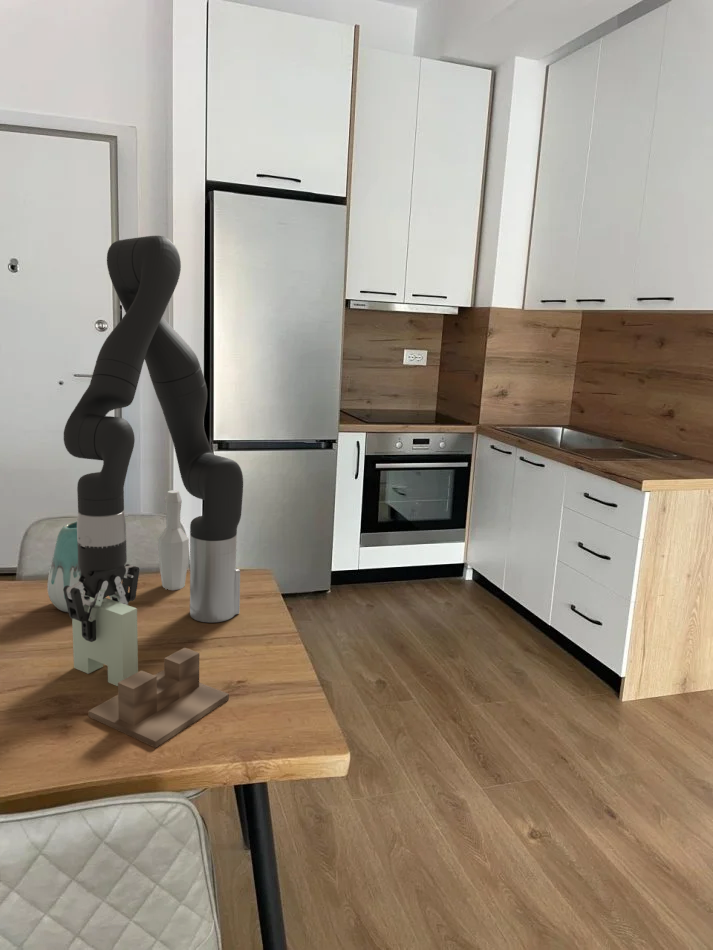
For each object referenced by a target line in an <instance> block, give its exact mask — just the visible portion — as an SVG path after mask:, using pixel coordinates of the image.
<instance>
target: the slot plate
mask: <svg viewBox="0 0 713 950" xmlns="http://www.w3.org/2000/svg"><path fill="white" fill-rule="evenodd" d="M163 664H164V666H163V667H164V669H163V670H161V671H159V672H157V673H155V674H152V673H149V672H147V671H144V670H140V671H139V670H138V672H137V673H135V674H133V675H131V676H130V677H128V678H126V679H124V680H122V681H120V682H118V686H117V693H118V694H117V695H115V696H113V697H111V698H109V699H107V700H105V701H103V702H102V703H100V704H98V705H96V706H95V707H92V708H91V709H89V710H88V717H89V718H90V719H93V720H94V721H97V722H100V724H104V725H106V726H108V727H110V728H112V729H115V730H116V731H119V732H121V733H123V734H126V735H127V736H129V737H132V738H134V739H136V740H138V741H140V742H142V743H145V744H147V745H149V746H151V747H153V748H155V749H156V748H158V747H160V746H161V745H162V744H164V743H166V742H167V741H168V740H169V739H172V738H173V737H174V736H176V735H177V734H179V733H180V732H182V731H183V730H185V729H186V728H188V727H189V726H191V725H193V724H194V723H195V722H197V721H198V720H200V719H201V718H203V717H205V716H206V715H207V714H209V713H211V712H212V711H214V710H216V708H218V707H220V706H222V704H225V703H226V702H227V701H228V700H229V698H230V697H229V696H230V694H229V693H228V692H225V691H222V690H221V689H217V688H215V687H212V686H209V685H207V684H204V683H202V682H200V652H198V651H195V650H192V649H190V648H187V647H183V648H181V649H179V650H177V651H175V652H173V653H172V654H170V655H168V656H166V657H164V662H163Z"/></svg>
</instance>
